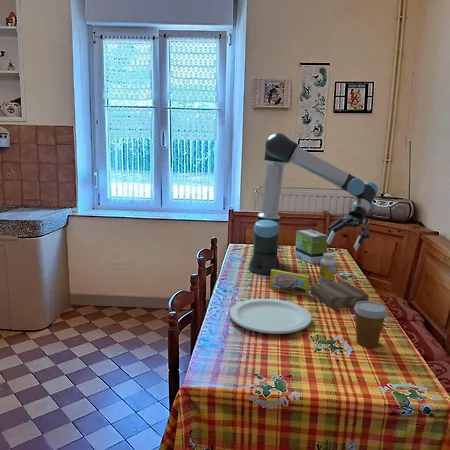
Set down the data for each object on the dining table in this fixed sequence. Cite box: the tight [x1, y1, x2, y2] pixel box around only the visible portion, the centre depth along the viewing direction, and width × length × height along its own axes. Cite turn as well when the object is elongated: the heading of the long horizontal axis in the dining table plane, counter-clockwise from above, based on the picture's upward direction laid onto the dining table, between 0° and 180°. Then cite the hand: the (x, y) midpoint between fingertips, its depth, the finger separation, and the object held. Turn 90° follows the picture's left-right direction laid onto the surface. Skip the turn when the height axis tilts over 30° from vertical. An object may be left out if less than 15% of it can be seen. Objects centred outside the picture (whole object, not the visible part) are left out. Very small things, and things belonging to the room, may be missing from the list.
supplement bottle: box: [318, 252, 337, 284], centre depth 184 cm, size 7×7×13 cm
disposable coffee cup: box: [353, 300, 388, 348], centre depth 127 cm, size 10×10×12 cm
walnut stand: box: [310, 281, 370, 309], centre depth 164 cm, size 16×16×4 cm
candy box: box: [269, 269, 310, 297], centre depth 171 cm, size 16×2×8 cm, turn 62°
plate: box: [229, 298, 312, 335], centre depth 144 cm, size 28×28×2 cm
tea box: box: [294, 229, 328, 265], centre depth 219 cm, size 15×10×15 cm, turn 25°
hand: (341, 246), depth 189 cm, fingers open, 13 cm apart
